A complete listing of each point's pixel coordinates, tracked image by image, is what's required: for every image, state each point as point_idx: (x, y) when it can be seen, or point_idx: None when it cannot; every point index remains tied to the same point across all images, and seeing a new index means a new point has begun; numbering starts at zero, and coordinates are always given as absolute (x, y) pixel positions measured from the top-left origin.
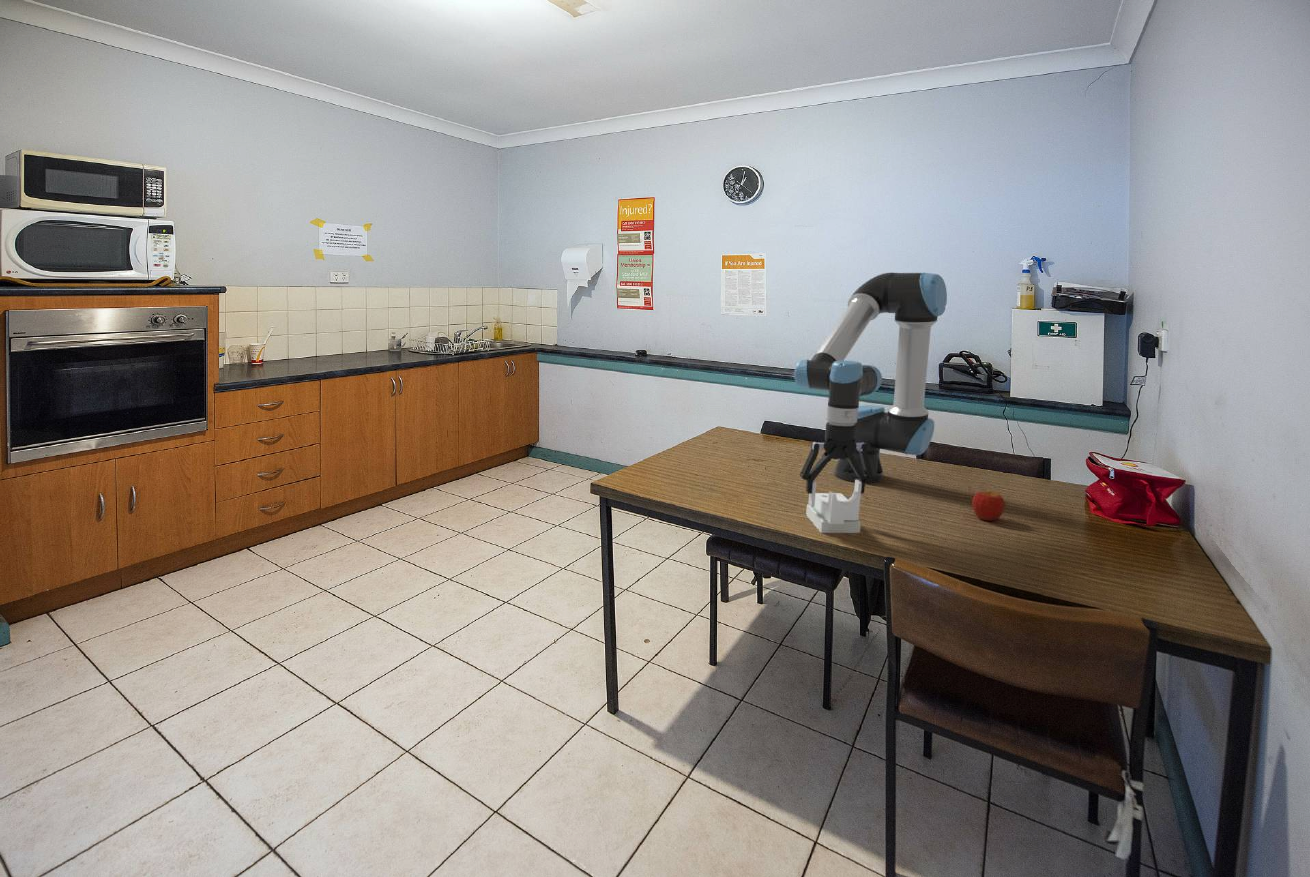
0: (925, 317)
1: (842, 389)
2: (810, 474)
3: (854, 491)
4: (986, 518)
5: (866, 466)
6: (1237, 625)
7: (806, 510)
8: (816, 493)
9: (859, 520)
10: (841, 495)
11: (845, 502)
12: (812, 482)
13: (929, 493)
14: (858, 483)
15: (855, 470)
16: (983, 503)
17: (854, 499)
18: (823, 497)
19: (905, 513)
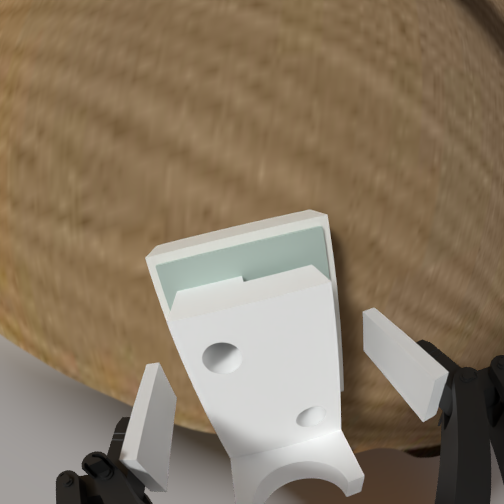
0: None
1: None
2: (114, 497)
3: (353, 480)
4: None
5: (501, 459)
6: None
7: (152, 250)
8: (176, 322)
9: (342, 382)
10: (324, 321)
11: (301, 469)
12: (143, 482)
13: (499, 38)
14: (421, 414)
15: (439, 478)
16: None
17: (334, 481)
18: (216, 377)
19: (478, 165)
